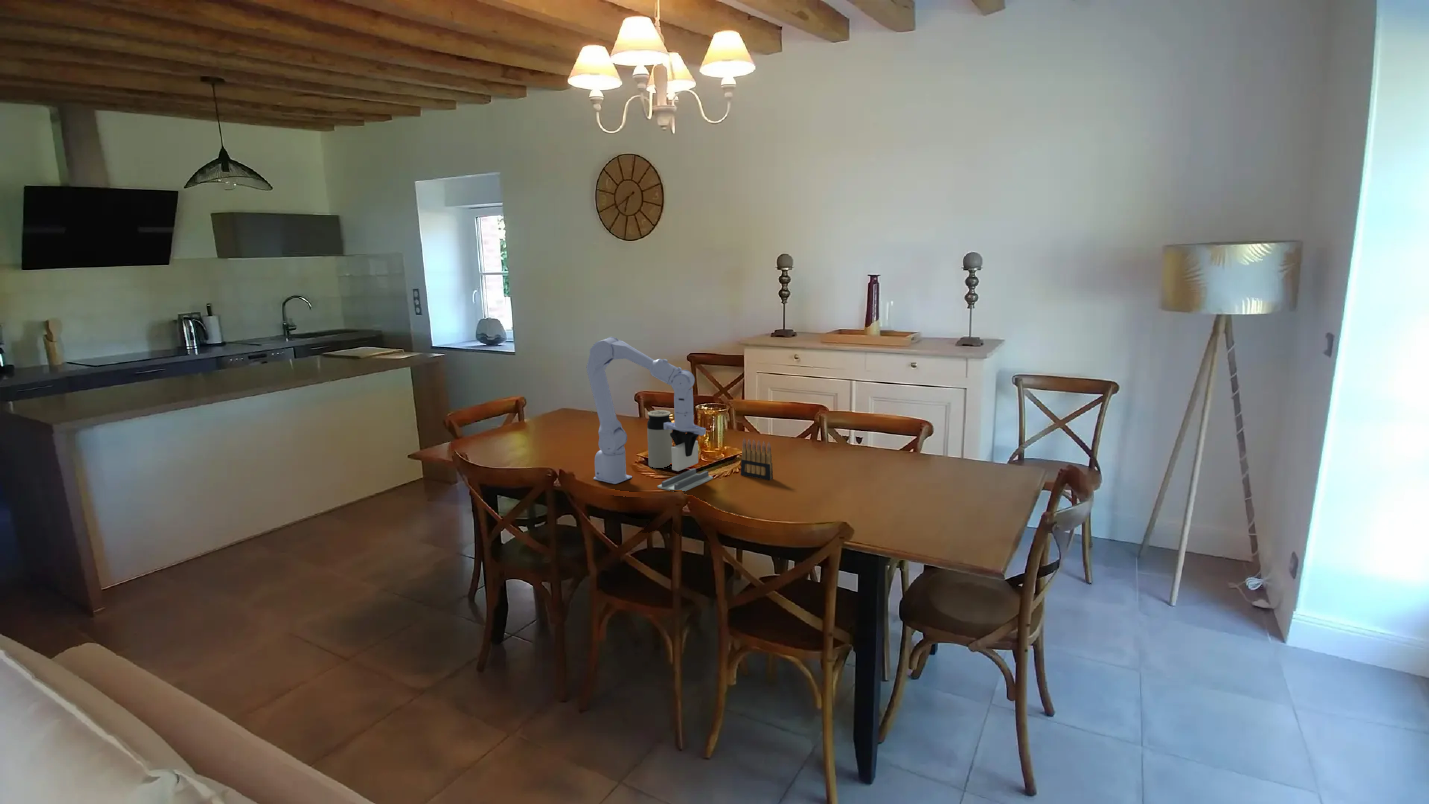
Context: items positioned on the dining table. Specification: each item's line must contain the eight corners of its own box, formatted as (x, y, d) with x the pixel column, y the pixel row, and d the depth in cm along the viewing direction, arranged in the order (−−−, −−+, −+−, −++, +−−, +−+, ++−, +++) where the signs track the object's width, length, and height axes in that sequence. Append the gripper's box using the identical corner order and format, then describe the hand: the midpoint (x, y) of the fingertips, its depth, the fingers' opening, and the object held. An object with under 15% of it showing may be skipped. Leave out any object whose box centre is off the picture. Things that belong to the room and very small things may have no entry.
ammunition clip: (740, 474, 230) (740, 438, 228) (743, 473, 232) (743, 436, 229) (770, 480, 224) (770, 442, 222) (773, 478, 226) (773, 441, 223)
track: (657, 487, 219) (657, 481, 219) (689, 473, 232) (689, 467, 231) (681, 493, 214) (681, 486, 214) (712, 478, 227) (712, 472, 226)
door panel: (672, 469, 219) (671, 447, 217) (692, 461, 227) (691, 439, 225) (678, 471, 217) (677, 448, 216) (698, 462, 225) (697, 440, 224)
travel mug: (671, 469, 237) (670, 415, 233) (647, 469, 237) (645, 415, 234) (673, 461, 245) (672, 409, 241) (650, 462, 245) (648, 410, 241)
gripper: (711, 411, 217) (712, 455, 220) (673, 406, 226) (674, 448, 228) (697, 416, 212) (698, 461, 215) (658, 410, 220) (660, 453, 223)
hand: (684, 455), depth 221 cm, fingers closed on door panel, 2 cm apart
